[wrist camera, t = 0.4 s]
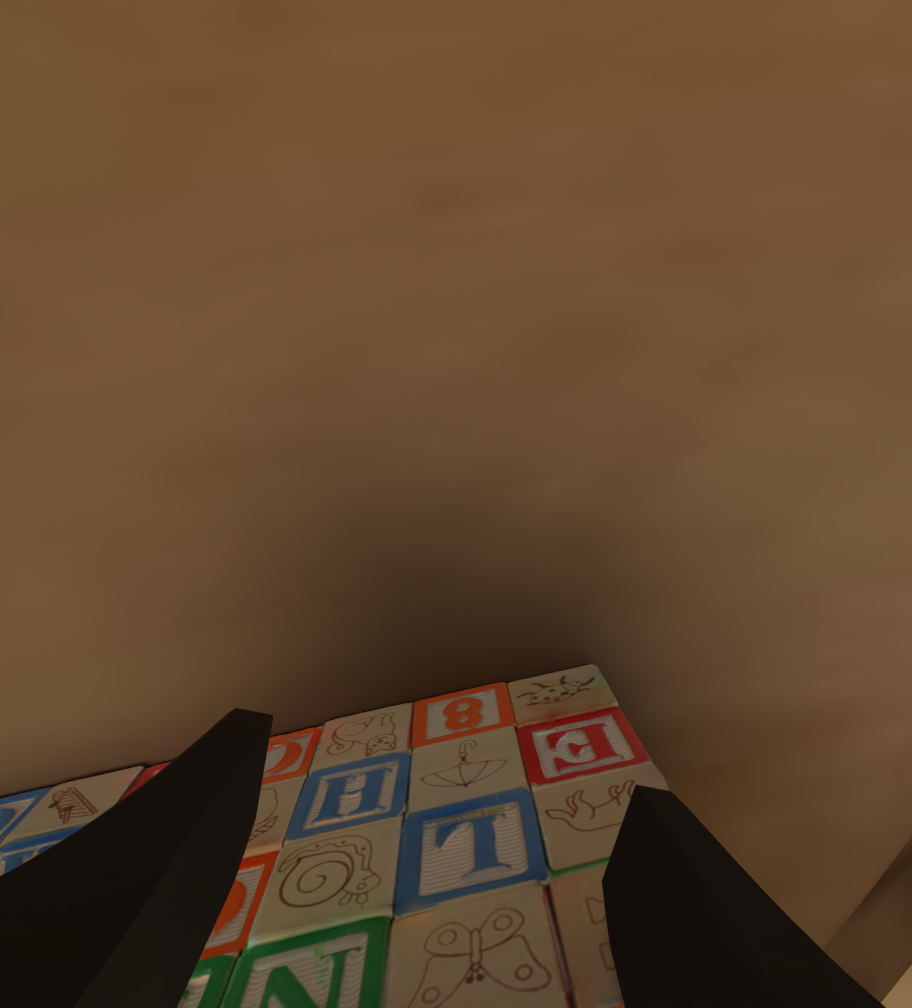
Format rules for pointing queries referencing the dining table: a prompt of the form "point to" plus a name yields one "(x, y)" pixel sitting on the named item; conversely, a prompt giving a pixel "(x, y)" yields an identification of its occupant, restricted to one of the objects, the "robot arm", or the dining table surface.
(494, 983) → the stack of blocks
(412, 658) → the dining table surface
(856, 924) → the walnut block
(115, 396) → the dining table surface
